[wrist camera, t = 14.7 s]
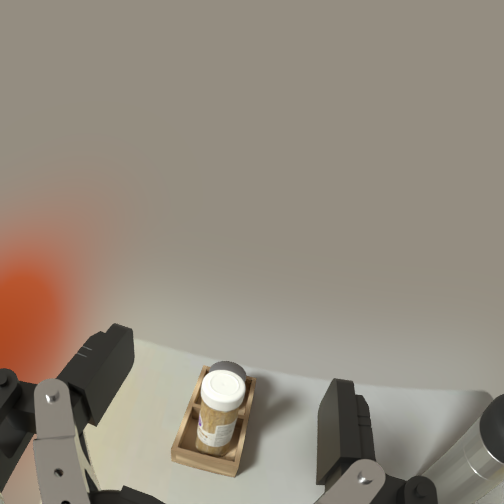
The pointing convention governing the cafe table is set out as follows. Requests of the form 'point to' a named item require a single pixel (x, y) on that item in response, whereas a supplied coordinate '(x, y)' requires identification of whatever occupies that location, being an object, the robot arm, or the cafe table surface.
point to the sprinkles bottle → (218, 411)
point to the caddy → (187, 434)
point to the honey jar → (229, 368)
